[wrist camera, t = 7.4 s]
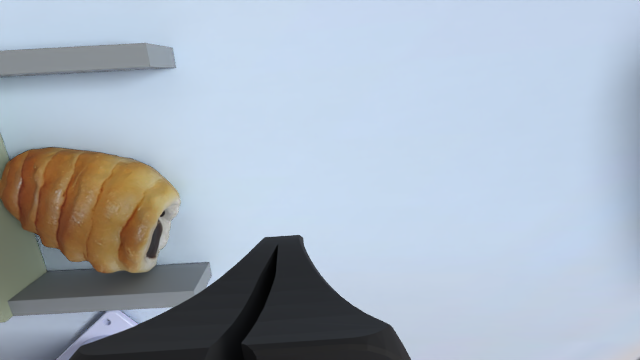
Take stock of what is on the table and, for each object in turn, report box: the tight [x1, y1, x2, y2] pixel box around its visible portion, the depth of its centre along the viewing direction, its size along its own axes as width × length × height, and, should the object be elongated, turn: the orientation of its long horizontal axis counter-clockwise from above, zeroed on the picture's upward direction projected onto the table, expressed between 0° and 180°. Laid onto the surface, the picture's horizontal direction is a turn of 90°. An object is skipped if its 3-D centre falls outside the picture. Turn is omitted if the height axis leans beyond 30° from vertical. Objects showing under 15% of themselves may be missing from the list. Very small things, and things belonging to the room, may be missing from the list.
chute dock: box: [0, 43, 212, 322], centre depth 18 cm, size 12×14×4 cm
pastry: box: [0, 147, 181, 273], centre depth 19 cm, size 9×7×4 cm
